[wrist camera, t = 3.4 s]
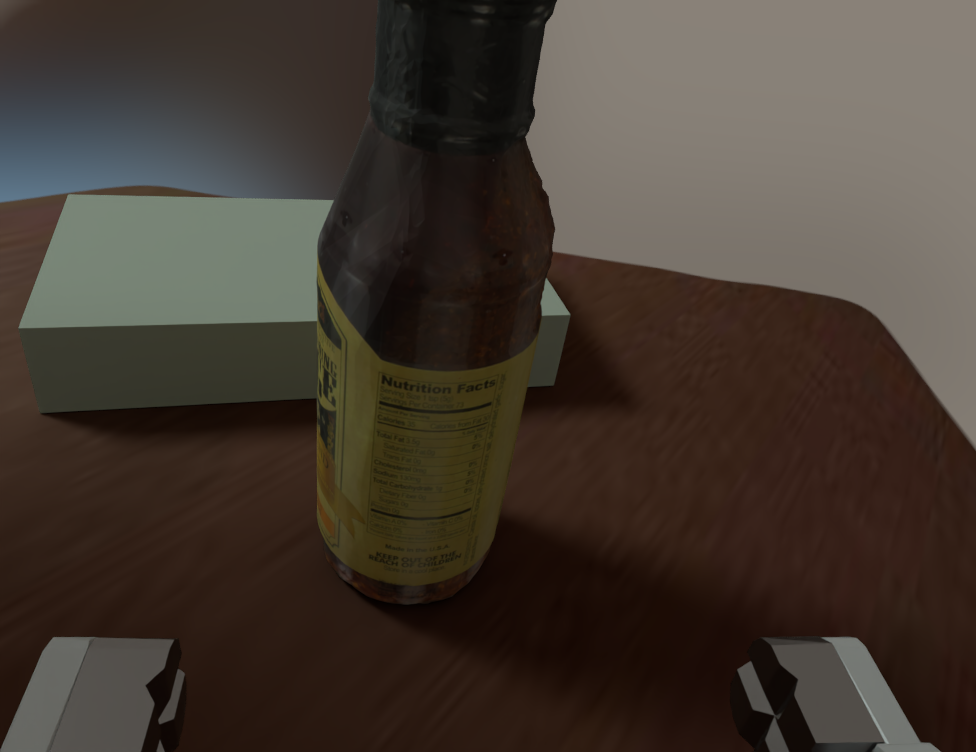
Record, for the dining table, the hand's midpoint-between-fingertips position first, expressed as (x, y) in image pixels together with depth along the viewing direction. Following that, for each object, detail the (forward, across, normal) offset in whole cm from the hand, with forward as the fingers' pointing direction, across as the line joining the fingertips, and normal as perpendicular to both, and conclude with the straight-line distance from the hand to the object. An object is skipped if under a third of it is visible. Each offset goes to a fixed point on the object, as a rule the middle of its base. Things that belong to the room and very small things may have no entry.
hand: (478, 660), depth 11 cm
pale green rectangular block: (+27, +5, +12) cm, 29 cm away
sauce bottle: (+12, 0, +12) cm, 17 cm away
